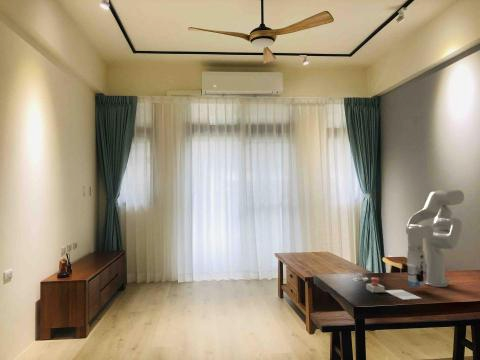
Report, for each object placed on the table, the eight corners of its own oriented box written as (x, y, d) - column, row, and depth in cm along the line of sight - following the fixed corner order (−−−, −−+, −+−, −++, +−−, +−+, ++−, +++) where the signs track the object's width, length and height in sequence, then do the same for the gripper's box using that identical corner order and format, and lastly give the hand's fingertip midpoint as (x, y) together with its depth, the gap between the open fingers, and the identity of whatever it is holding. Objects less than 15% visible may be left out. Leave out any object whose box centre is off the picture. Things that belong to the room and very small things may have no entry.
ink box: (415, 287, 197) (414, 266, 196) (407, 285, 201) (407, 264, 201) (425, 284, 201) (424, 264, 200) (417, 282, 205) (417, 262, 205)
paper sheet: (401, 290, 201) (401, 289, 201) (421, 298, 186) (421, 298, 186) (384, 291, 199) (384, 290, 199) (403, 299, 183) (403, 299, 183)
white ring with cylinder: (369, 280, 223) (369, 274, 223) (364, 283, 217) (364, 276, 217) (355, 278, 229) (355, 272, 229) (350, 280, 223) (350, 274, 223)
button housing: (377, 288, 204) (377, 283, 204) (384, 291, 197) (384, 286, 197) (366, 289, 203) (366, 283, 203) (373, 292, 196) (373, 287, 196)
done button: (376, 285, 203) (376, 277, 203) (380, 287, 198) (380, 279, 198) (369, 286, 202) (369, 277, 202) (373, 288, 197) (373, 279, 198)
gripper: (432, 250, 193) (433, 283, 193) (410, 244, 210) (411, 275, 210) (420, 251, 191) (421, 284, 192) (399, 245, 208) (400, 276, 208)
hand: (416, 279), depth 201 cm, fingers closed on ink box, 6 cm apart
